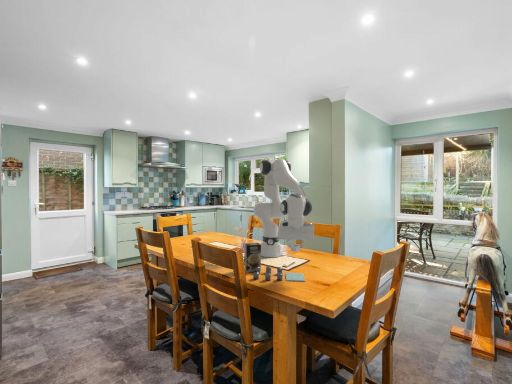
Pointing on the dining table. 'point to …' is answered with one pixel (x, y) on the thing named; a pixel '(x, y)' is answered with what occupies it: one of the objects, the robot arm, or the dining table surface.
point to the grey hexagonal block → (295, 247)
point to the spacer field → (268, 273)
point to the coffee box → (252, 256)
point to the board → (295, 277)
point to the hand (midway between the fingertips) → (295, 247)
